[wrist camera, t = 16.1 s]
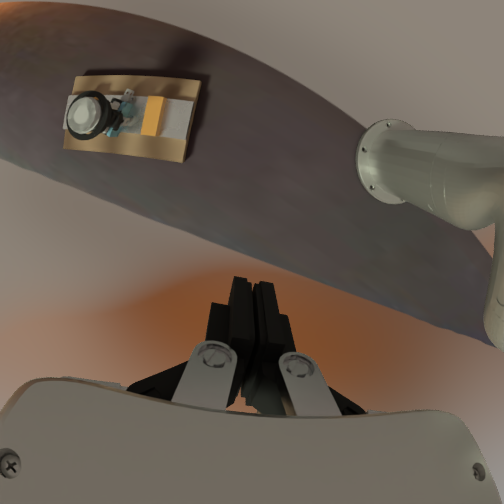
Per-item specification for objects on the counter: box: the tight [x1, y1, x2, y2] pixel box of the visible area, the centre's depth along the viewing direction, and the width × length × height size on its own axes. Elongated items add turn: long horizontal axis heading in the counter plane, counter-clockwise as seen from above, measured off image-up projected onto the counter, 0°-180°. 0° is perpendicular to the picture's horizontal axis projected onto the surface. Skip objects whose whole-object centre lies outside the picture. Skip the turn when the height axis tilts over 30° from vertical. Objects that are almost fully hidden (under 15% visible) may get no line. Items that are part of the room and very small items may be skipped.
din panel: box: [63, 75, 202, 163], centre depth 31 cm, size 19×11×2 cm, turn 77°
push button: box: [66, 89, 134, 140], centre depth 25 cm, size 7×5×10 cm
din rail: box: [63, 95, 195, 140], centre depth 30 cm, size 19×5×1 cm, turn 77°
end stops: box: [94, 96, 167, 136], centre depth 29 cm, size 12×5×2 cm, turn 77°
